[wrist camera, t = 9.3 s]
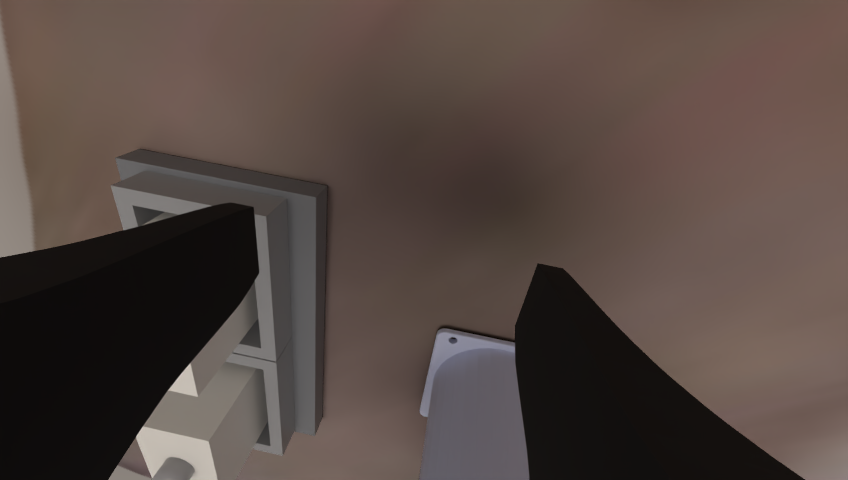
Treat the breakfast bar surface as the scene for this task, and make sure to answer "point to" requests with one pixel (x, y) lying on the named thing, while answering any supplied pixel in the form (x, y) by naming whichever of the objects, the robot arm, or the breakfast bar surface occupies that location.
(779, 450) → the breakfast bar surface
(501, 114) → the breakfast bar surface
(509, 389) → the robot arm
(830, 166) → the breakfast bar surface
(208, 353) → the plug
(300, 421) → the grey compartment holder
